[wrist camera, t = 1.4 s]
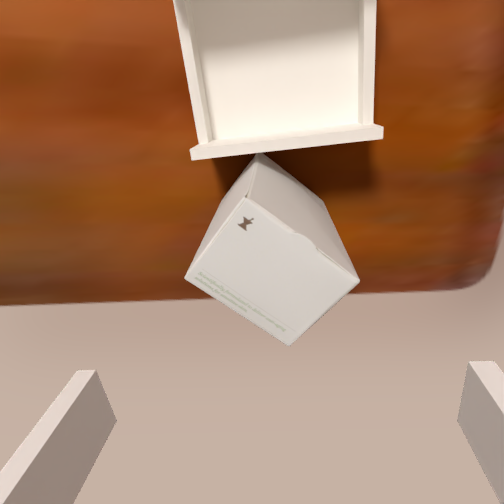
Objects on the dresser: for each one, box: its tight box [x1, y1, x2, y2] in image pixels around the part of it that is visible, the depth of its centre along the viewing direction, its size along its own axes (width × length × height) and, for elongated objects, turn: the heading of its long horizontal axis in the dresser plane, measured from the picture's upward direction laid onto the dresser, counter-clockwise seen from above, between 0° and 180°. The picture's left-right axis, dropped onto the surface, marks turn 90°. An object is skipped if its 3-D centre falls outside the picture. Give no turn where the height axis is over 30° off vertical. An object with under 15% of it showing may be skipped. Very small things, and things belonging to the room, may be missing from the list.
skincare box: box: [185, 152, 360, 346], centre depth 26 cm, size 8×7×16 cm
